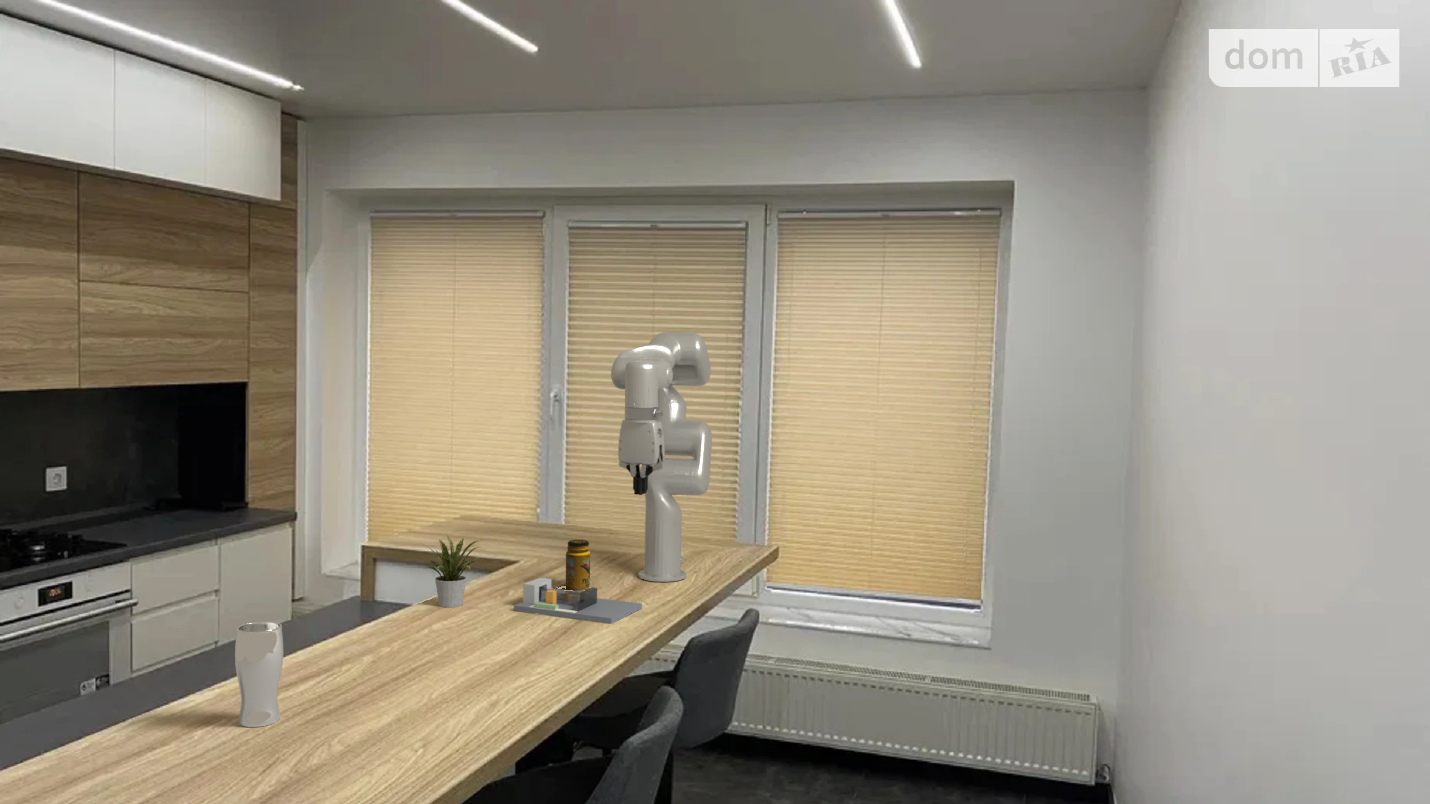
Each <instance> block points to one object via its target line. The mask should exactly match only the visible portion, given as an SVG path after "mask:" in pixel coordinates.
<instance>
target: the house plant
mask: <svg viewBox="0 0 1430 804" xmlns="http://www.w3.org/2000/svg"><path fill="white" fill-rule="evenodd" d="M446 539H447V540H448V544H449V547H450V548H448V546H447V545H446V544H445V543H444V541H443V540H442V539H438V542H439V544H440V545H439V546H440V548H441V554H442V556H441V555H440V553H439V552H438V551H437V550H433V549H432V548H430V547H429V546H427V545H425V544H422V543H421V545H422V546H425V547H426V548H428V549H430V550H431V552H432V553H434V555H435V556H436V557H437V559H438V560H439V561H440V564H439V563H438V562H436V561H434V560H432V559H428V561H429V562H431V564H432V565H433V566H431V565H427V566H426V568H429V569H430V570H433V571H436V572H437V573H438V575H439V576H437V577H435V579H434V580H435V586H436V592H437V593H436V594H437V599H438V605H439V607H441V608H457V607H461V606H463V603H464V596H465V591H466V584H467V576H465V575H462V574H463V572H465V573H468V572H467V568H468V569H469V570H470V569H471V564H472V563H473V564H474V565H475V564H476V563H475V562H474V561H476V560H480V559H481V557H479V558H474V559H472V560H466V559H467V557H468V556H469V555H470V554H471V553H472V552H473V551H474V550H476V549H479V548H481V546H475V547H474V548H473V546H474V544H475V543H477V542H480V541H482V539H477V540H474V541H472V542H470V543H469V544H468V545H467V546H466V547H465V548H464V549H463V551H462V548H463V547H464V546H463V545H464V540H465V538H464V537H462V538H461V539H460V540H459V542H458V543H457V544H456V547H454V543H453V541H452V539H451V537H449V535H446ZM471 547H472V549H471V550H469V548H471ZM449 550H450V553H449ZM467 550H469V551H468V553H467ZM461 552H462V553H461ZM466 553H467V554H466ZM465 554H466V556H465V557H464V559H463V560H462V558H463V556H464V555H465ZM461 560H462V562H460V561H461ZM466 563H467V564H466ZM465 564H466V565H465ZM434 566H435V567H434ZM441 573H442V574H441Z"/></svg>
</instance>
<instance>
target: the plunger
mask: <svg viewBox="0 0 1430 804" xmlns="http://www.w3.org/2000/svg"><path fill="white" fill-rule="evenodd" d="M548 590H554V591H557V593H556V603H562V604H570V605H574V611H580V610H582V609H584V608H586V607H589V606H591V605H593V604H595V603H597V598H598V588H597V587H594V586H593V587H592V586H591V588H590V589H587V590H585V591H578V592H577V591H576V592H572V591H564V590H557V589H556V588H551V589H547V588H539V601H546V591H548Z"/></svg>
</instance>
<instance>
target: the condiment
mask: <svg viewBox="0 0 1430 804" xmlns="http://www.w3.org/2000/svg"><path fill="white" fill-rule="evenodd" d="M590 581H591V551H590V542H589V541H588V540H586V539H571V540H569V541H568V542H567V551H566V553H565V584H563V585H553V586H552V587H553V588H554V587H558V588H559V587H561V586H566V589H565V588H562V589H558V588H557V589H556V590H573V591H572V592H582V591H583V590H587V589H590V588H592V586H590V584H591V582H590ZM589 587H590V588H589Z"/></svg>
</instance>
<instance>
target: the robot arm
mask: <svg viewBox="0 0 1430 804" xmlns="http://www.w3.org/2000/svg"><path fill="white" fill-rule="evenodd" d="M710 361H711V360H710V357H709V353H708V349H707V344H706V342H705V340H704V338H703V337H702V336H701V334H699V333H696V332H671V331H670V332H666V331H665V332H660V333H657V334H656V335H655V336H653V338H652V339H651V340H650V341H649V342H648V344H645V345H642V346H637V347H635V348H634V347H633V348H630V349H626V350H624V351H622V352H620V353H619V354H618V355H617V357H616V358H615V359H614V361H613V363H612V366H611V369H610V377H611V382H612V384H613V385H614V387H615V388H617V389H619V390H624V419H622V421H621V424H620V430H619V437H618V438H619V439H618V447H617V448H618V450H617V452H618V454H617V455H618V456H617V458H618V460H619V462H618V466H619V467H620V468H623V469H626V470H627V471H628V472H629V474H630V475H631V477H632V489H633V491H634V492H633V494H634V495H636V496H637V495H639V496H642V495H644V497H645V521H644V522H645V525H644V569H642V570H640V571H639V572H638V578H639V579H641V580H643V579H644V581H650V582H655V583H657V582H658V583H663V582H664V583H665V582H666V583H667V582H679V581H682V579H683V580H684V579H686V578H687V572H686V571H685V570H681V566H682V565H683V564H684V563H685V559H684V557H683V556H682V515H683V514H682V510H681V509H682V508H681V507H680V505H679V503H678V502H677V500H676V499H675V498H674V497H673V496H677V495H678V496H702V495H704V494H705V493H707V491H708V489H709V487H710V486H709V485H710V476H711V462H712V460H711V459H712V449H713V448H712V447H713V446H712V445H713V443H712V442H713V436H712V429H711V427H710V425H709V424H708V423H707V422H705V421H703V420H702V421H701V420H692V419H691V420H690V419H689V420H687V419H686V417H687V403H686V400H685V399H684V397H683V396H682V395H681V393H679V391H678V390H677V389H676V388H675V387H674V386H681V387H682V386H683V387H684V386H687V387H690V386H691V387H692V386H693V387H700V386H705V385H707V383H709V381H710V378H711V372H712V368H711V362H710ZM665 456H675V457H665ZM676 456H677V457H676ZM679 456H680V457H681V456H682V457H692V458H679Z"/></svg>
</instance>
